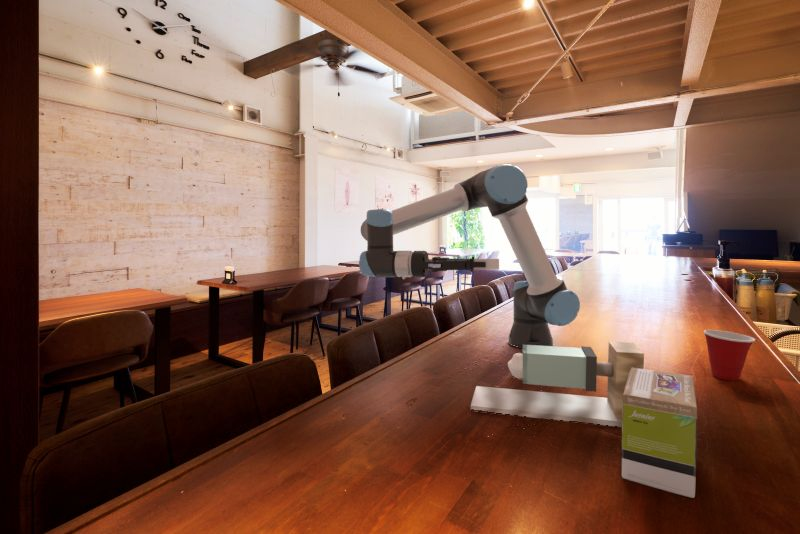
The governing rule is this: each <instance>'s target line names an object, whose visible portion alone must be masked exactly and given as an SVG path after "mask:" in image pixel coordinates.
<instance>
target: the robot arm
mask: <svg viewBox="0 0 800 534" xmlns="http://www.w3.org/2000/svg"><path fill="white" fill-rule="evenodd" d="M528 184H529V183H528V180H527V176H526V175H525V173H524V172H523V170H522V169H520V167H518V166H516V165H513V164H508V163H504V164H497V165H495V166H492V167H490V168H489V169H488V168H487V169H485V170H482V171H480V172H478V173H476V174H475V175H473V176H471V177H469V178H467V179H465V180H463V181H460V182H458V183H456V184H455V185H454V186H453V188H451V189H449V190H444V191H442V192H439V193H437V194H434V195H431V196H428V197H426V198H424V199H421V200H417V201H416V202H412V203H410V204H407V205H404V206H401V207H399V208H395V209H392V210H390V209H381V208H379V209H376V208H375V209H369V210H367V212H366V219H365V220H364V221H363V222H362V223H361V226H360V235H361V236H362V238H363V239H365V241H366V242H367V247H366V248H367V250H364V251H362V252H361V253H360V255H359V260H358V266H359V271H360V274H362V275H363V276H364V277H373V278H402V280H406V278H412V277H413V278H427V276H428V275H429V270H431V271H432V272H433V273H437V272H441V271H442V272H447V271H469V270H470V273H473V272H474V270H487V271H488V270H498V271H499V270H500V258H475V256H472V257H471V258H470V257H469V258H450V257H441V256H433V257H431V259H430V258H429V253H428V252H427V250H413V251H412V250H394V235H398V234H400V233H403V232H405V231H408V230H410V229H413V228H416V227H418V226H421V225H424V224H427V223H429V222H432V221H435V220H438V219H440V218H444V217H445V216H448V215H451V214H454V213H456V212H459V211H462V212H468V211H470V210H474V209H475V210H476V209H479V208H486V207H487V208H488V210H489V213H490V214H491V217H492V218H496V219H498V220H499V222H500V224H501V227H502V229H503V231H504V233H505V236H506V238H507V239H508V242H509V244H510V246H511V248H512V251H513V253H514V256H515V257H516V260H517V262H518V264H519V265H520V268H521V270H522V273H523V275H524V277H525V279H526V280H518V281H515V282H514V285H513V290H512V292H513V322H512V325H511V329H510V331H509V334H508V344H509V343H510V344H512V345H515V346H518V347H522V348H521V349H523V345H539V346H554V338H553V337H552V333H551V330H550V326H549V325H552V326H558V327H565V326H567V325H569V324H571V323H572V322H574V320H576V318H577V316H578V313H579V312H580V308H581V301H580V298H579V296H578V295H577V293H575V292H574V291H572V290H570V289H568V288H567V285H566V283H565V281H564V279H563V277H562V276H560V275H557V274H556V273H555V271H554V269H553V266H552V264H551V262H550V260H549V257H548V256H547V252H546V251H545V249H544V247H543V244H542V242H541V240H540V237H539V235H538V233H537V231H536V228H535V226H534V224H533V222H532V221H533V220H532V218H531V217H530V215H529V211H528V210H527V208H526V207H527V204H528V203H529V199H528V197H527V195H526V193H527V188H528ZM510 344H509V345H510ZM512 345H511V346H512ZM518 347H517V348H518Z"/></svg>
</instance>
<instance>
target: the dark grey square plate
mask: <svg viewBox="0 0 800 534" xmlns="http://www.w3.org/2000/svg"><path fill="white" fill-rule="evenodd" d="M580 348H582V350H583V352H584V354H585V356H586V389H584V390H585V391H586V392H593V393H596V392H597V377H598V376H597V362H598V356H597V355H596V353H595V351H594V350H593V348H592V346H581V347H580Z"/></svg>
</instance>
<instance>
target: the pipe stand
mask: <svg viewBox="0 0 800 534" xmlns="http://www.w3.org/2000/svg"><path fill="white" fill-rule="evenodd" d="M607 359H608V361H607V362H606V361H605V362H604V361H597V376H596V377H607V393H606V394H607V397H602V396H601V397H600V396H592V395H591V396H590V395H578V394H569V393H557V392H546V391H536V390H525V389H514V388H513V389H512V388H504V387H503V388H501V387H490V386H481V385H480V386H479V385H476V387H475V390H474V392H473V396H472V400H471V403H470V410H471V409H474V410H482V411H488V412H495V413H494V414H496V413H502V414H501V415H505V414H510V415H509V416H514V415H518V416H517V417H524V416H526V418H535V419H542V418H543V420H551V419H553V421H560V420H563V421H562V422H569V421H578V422H586V423H585V424H588V423H593V424H592V425H597V424H600V425H599V426H606V425H608V427H615V426H617V427H616V428H622V398H623V393H624V389H625V386H626V383H627V380H628V376H629V373H630V370H631V368H632V367H633V368H639V369H645V353H644V351H642V350H641V349H640V347H638V346H637V345H636V344H635V342H626V341H625V342H620V341H608V358H607ZM578 422H577V423H578Z"/></svg>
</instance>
